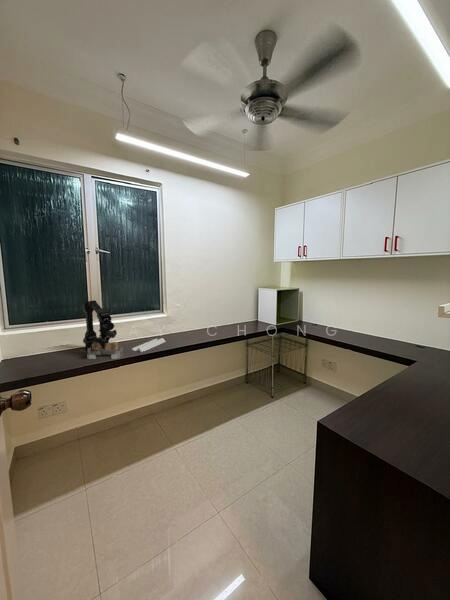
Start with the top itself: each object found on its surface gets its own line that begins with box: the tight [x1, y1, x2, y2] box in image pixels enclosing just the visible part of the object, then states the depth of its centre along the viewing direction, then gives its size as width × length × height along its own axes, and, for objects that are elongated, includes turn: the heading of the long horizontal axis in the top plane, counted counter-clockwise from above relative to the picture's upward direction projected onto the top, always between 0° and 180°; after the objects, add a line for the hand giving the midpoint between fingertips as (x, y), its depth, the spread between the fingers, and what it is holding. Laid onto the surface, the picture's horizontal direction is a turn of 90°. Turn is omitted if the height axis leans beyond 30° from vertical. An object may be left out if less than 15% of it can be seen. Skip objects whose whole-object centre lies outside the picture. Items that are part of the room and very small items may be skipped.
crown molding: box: [130, 337, 167, 353], centre depth 216 cm, size 31×12×4 cm, turn 157°
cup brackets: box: [87, 346, 124, 360], centre depth 189 cm, size 25×8×7 cm, turn 92°
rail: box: [91, 341, 119, 351], centre depth 188 cm, size 18×4×5 cm, turn 90°
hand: (105, 347), depth 188 cm, fingers closed on rail, 4 cm apart
